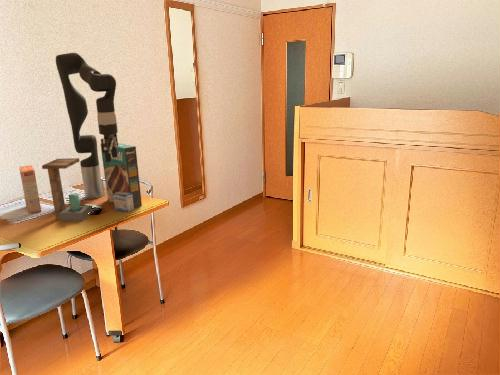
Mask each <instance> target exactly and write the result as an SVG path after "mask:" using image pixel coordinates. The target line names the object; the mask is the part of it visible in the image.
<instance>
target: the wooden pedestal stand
mask: <svg viewBox="0 0 500 375" xmlns="http://www.w3.org/2000/svg"><path fill="white" fill-rule="evenodd" d="M77 163H80V158H79V157H77V158H74V157H73V158H69V157H68V158H55V159H53V160H51V161H49V162H47V163H45V164H43V165H41V169H42V170H47V173H48V180H49V185H50V191H51V196H52V197H51V198H52V203H53V209H54V214H55V220H56V221H61V220H60V214H59V213H60V212H62V211H63V210H65V209H66V208H67V207H66V202H65V197H64V191H63V186H62V178H61V173H60V169H61V170H64V169H68V168H70V167H71V166H73V165H75V164H77Z"/></svg>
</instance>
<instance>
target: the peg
mask: <svg viewBox="0 0 500 375" xmlns="http://www.w3.org/2000/svg"><path fill="white" fill-rule="evenodd" d="M67 196H68V200H69V206H70V209H71V211H80V210H81V208H80V206H81V203H80V197H79V193H70V194H68V195H67Z"/></svg>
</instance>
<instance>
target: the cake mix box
mask: <svg viewBox="0 0 500 375" xmlns="http://www.w3.org/2000/svg"><path fill="white" fill-rule="evenodd" d="M136 148H137V146H135V145H130V144H126V143H119V142H118V147H117V157H116V158H113V157H112V152H111V151H110V153H111V162H106V159H105V153H102V146H101V145H100V150H101V151H100V152H101V158H102V167H103V174H104V182H105V188H106V189H105V190H106V197H107V201H109V202H111V203H114V193H116V192H129V193H132V196H133V206H134V209H135V208H137V207H141V206H142V205H143V204H142V196H141V195H142V194H141V193H142V192H141V185H140V176H139V167H138V155H137V149H136ZM106 150H107V149H106Z"/></svg>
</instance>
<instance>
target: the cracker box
mask: <svg viewBox="0 0 500 375" xmlns="http://www.w3.org/2000/svg"><path fill="white" fill-rule="evenodd" d="M19 174H20V178H21V184H22V185H21V186H22V190H23V191H22V192H23V195H24V200H25V201H24V202H25V207H26V210H27V212H28V214H34V213H41V212H42V207H41V202H40V195H39V189H38V184H37V179H36V178H37V177H36V172H35V170H34V167H33V165H25V166H24V165H23V166H19Z"/></svg>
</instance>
